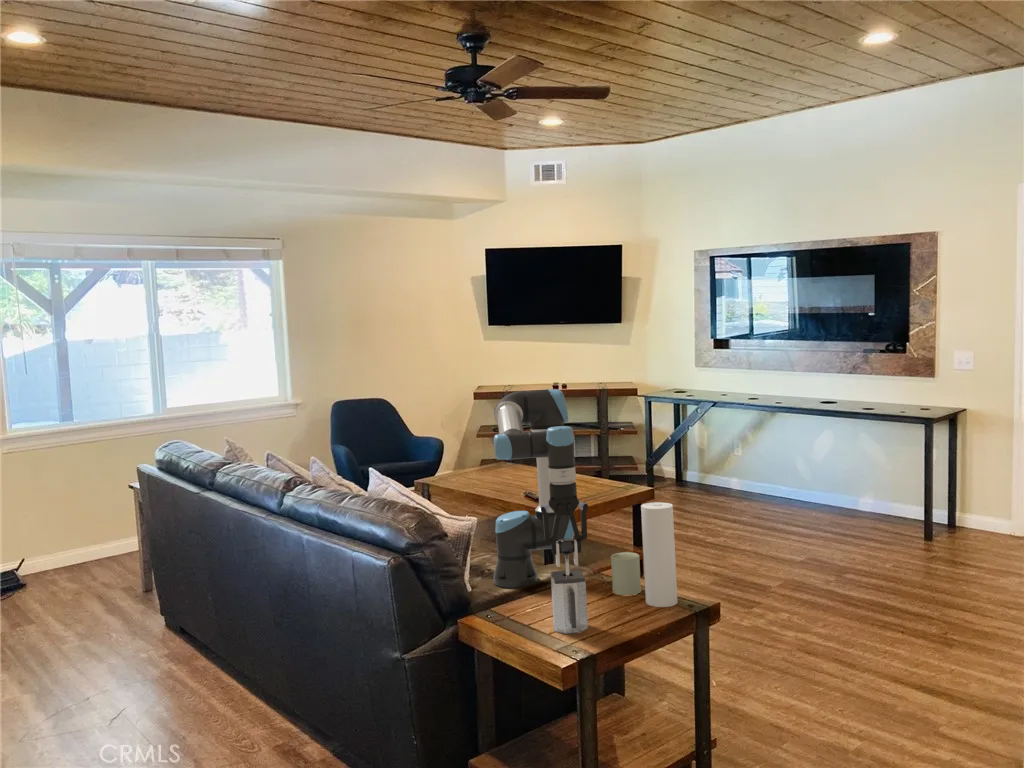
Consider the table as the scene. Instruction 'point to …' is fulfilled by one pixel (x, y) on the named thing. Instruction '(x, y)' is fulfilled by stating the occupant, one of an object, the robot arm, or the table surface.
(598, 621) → the table surface
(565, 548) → the plunger
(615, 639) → the table surface
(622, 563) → the can
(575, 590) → the press carafe
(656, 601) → the cylinder container
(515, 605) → the table surface
